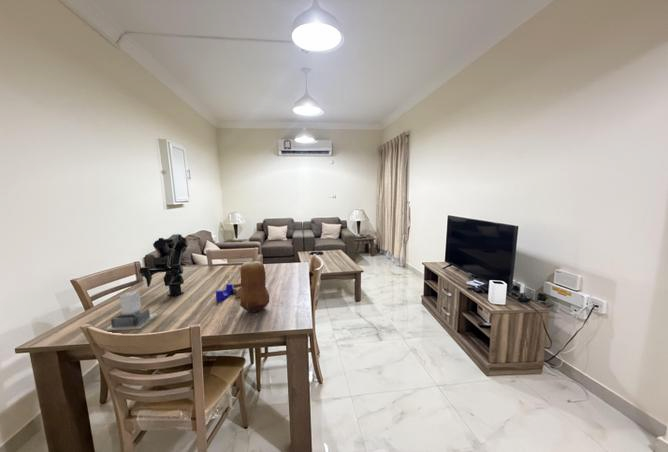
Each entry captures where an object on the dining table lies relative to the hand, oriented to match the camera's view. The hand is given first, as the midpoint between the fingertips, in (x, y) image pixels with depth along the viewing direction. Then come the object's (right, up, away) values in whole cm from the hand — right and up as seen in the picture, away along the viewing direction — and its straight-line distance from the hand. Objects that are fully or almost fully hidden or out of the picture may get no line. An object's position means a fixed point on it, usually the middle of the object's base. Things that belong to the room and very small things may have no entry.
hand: (158, 285), depth 131 cm
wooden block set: (+37, -10, +27) cm, 47 cm away
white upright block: (-4, -14, -11) cm, 18 cm away
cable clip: (+25, -11, +18) cm, 33 cm away
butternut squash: (+49, -13, -1) cm, 50 cm away
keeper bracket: (-4, -15, -11) cm, 19 cm away
